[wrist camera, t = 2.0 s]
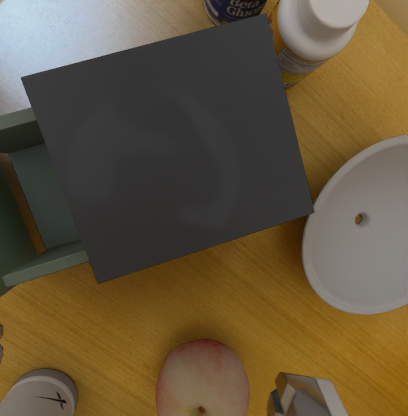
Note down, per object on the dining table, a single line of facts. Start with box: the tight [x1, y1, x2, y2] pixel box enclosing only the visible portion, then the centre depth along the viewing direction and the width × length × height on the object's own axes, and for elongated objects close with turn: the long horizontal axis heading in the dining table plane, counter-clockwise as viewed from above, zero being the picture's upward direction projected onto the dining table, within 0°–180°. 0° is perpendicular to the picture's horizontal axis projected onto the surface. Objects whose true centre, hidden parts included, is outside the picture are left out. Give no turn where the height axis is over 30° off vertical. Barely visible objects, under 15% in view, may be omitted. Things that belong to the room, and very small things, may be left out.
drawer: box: [0, 108, 89, 297], centre depth 21 cm, size 18×11×8 cm, turn 107°
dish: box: [302, 135, 408, 315], centre depth 27 cm, size 18×14×5 cm
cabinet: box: [21, 14, 315, 284], centre depth 22 cm, size 15×13×10 cm
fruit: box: [156, 339, 250, 416], centre depth 25 cm, size 8×8×8 cm
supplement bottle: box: [268, 0, 369, 88], centre depth 22 cm, size 6×6×10 cm
